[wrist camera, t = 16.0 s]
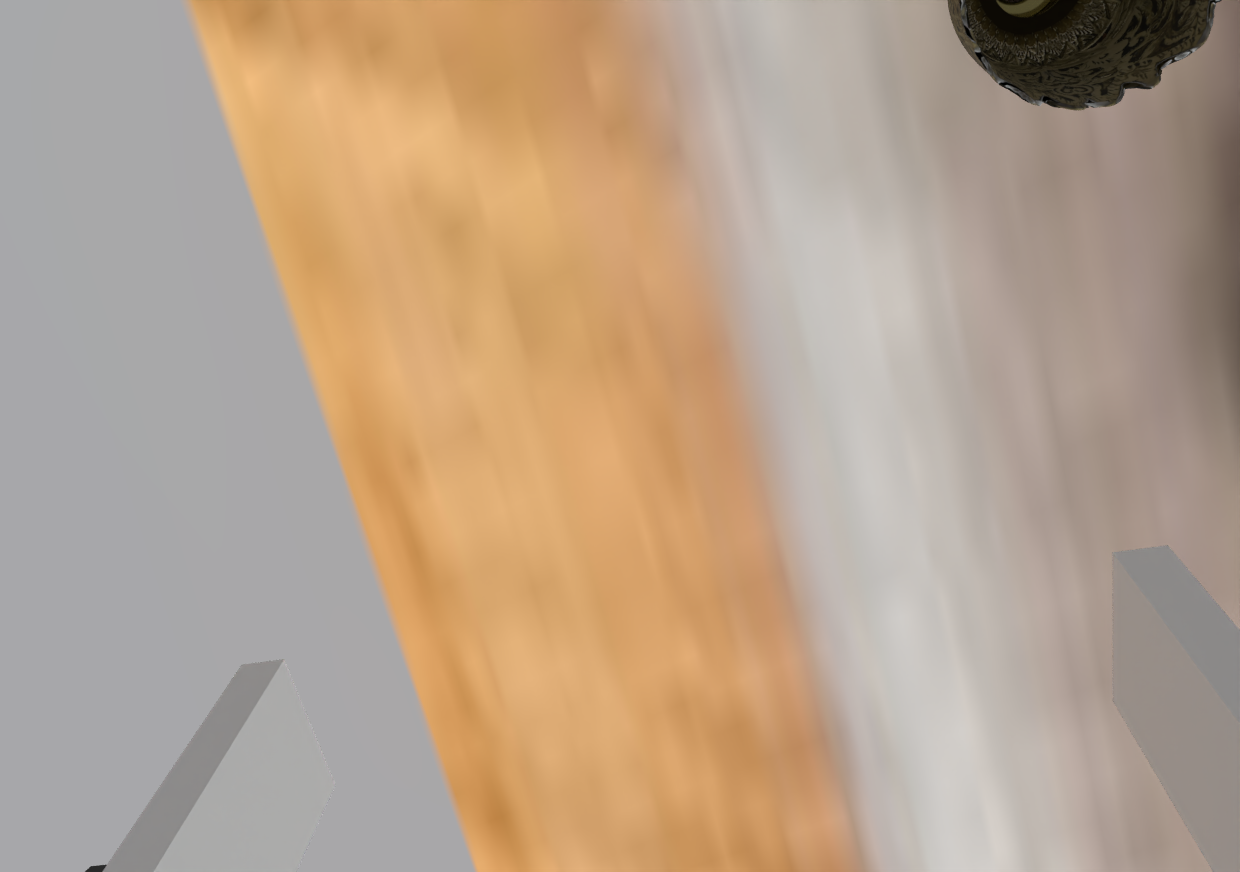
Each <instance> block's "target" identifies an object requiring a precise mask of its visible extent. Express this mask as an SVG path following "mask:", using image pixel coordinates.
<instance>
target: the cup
mask: <svg viewBox="0 0 1240 872" xmlns="http://www.w3.org/2000/svg"><path fill="white" fill-rule="evenodd" d="M1220 1H1221V0H1021V1H1018V2H1008V1H1005V0H948V7H949V12H950V16H951V20H952V23H953V26H954V29H955V31H956V33H957V35H958V37H959V39H960V41H961V43H962V45H963V46H964V48H965V49H966V50H967V52H968V53H969V54H970V56H971V57H972V58H973V59H974V60H975V61H976V62H977V64H979V65H980V66H981V67H982V68H983V69H984V70H985V71H986V72H987V73H988V74H990V76H991V77H992V78H993V79H994V80H995V82H997V83H998V84H999V85H1000V86H1002V87H1004V88H1006V89H1008V90H1010V91H1011V92H1013V93H1015V94H1016V95H1018V96H1019V97H1020V98H1021V99H1023V100H1025V101H1027V102H1028V103H1031V104H1033V105H1038V106H1040V105H1041V104H1042V103H1043V102H1044V103H1046V104H1048V105H1050V106H1052V107H1058V108H1065V109H1070V110H1083V109H1085V108H1089V107H1088V106H1091V107H1093V108H1095V107H1108V106H1112V105H1115V104H1117V103H1119V102H1120V101H1121V99H1122V97H1123V96H1124V93H1125V91H1124V90H1125V89H1131V88H1140V89H1152V88H1153V87H1155V86H1156V85H1157V84H1158V83H1159V82H1160V81H1161V76H1160V75H1161V74H1162V70H1161V69H1163V68H1164V67H1166V66H1167V65H1169V64H1171V63H1173V62H1176V61H1179V60H1181V59H1183V58H1185V57H1187V56H1188V55H1190V54H1191V53H1193V52H1194V51H1196V50H1197V49H1198V48H1200V47H1201V46H1202V45H1203V44H1204V43H1205V41H1206V40H1207V38H1208V36H1209V34H1210V31H1211V28H1212V24H1213V18H1214V9H1215V6H1216V3H1217V2H1220Z"/></svg>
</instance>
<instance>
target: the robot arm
mask: <svg viewBox="0 0 1240 872" xmlns="http://www.w3.org/2000/svg"><path fill="white" fill-rule="evenodd" d="M1113 702H1114V704H1115V706H1116V707H1117V709H1118V711H1119V712H1120V714H1121V716H1122V718H1123V719H1124V721H1125V723H1126V724H1127V726H1128V728H1129V729H1130V731H1131V733H1132V735H1133V736H1134V738H1135V740H1136V741H1137V743H1138V745H1139V746H1140V748H1141V750H1142V752H1143V753H1144V755H1145V757H1146V758H1147V760H1148V762H1149V763H1150V765H1151V767H1152V769H1153V770H1154V772H1155V774H1156V775H1157V777H1158V779H1159V780H1160V782H1161V784H1162V786H1163V787H1164V789H1165V791H1166V792H1167V794H1168V796H1169V798H1170V799H1171V801H1172V803H1173V804H1174V806H1175V808H1176V809H1177V811H1178V813H1179V815H1180V816H1181V818H1182V820H1183V821H1184V823H1185V825H1186V826H1187V828H1188V830H1189V832H1190V833H1191V835H1192V837H1193V838H1194V840H1195V842H1196V843H1197V845H1198V847H1199V849H1200V850H1201V852H1202V854H1203V855H1204V857H1205V859H1206V860H1207V862H1208V864H1209V866H1210V867H1211V869H1212V871H1213V872H1240V630H1239V629H1238V627H1237V626H1236V625H1235V624H1234V623H1233V621H1232V620H1231V619H1230V618H1229V617H1228V616H1227V614H1226V613H1225V612H1224V611H1223V610H1222V609H1221V607H1220V606H1219V605H1218V604H1217V603H1216V602H1215V600H1214V599H1213V598H1212V597H1211V596H1210V594H1209V593H1208V592H1207V591H1206V590H1205V589H1204V587H1203V586H1202V585H1201V584H1200V583H1199V582H1198V580H1197V579H1196V578H1195V577H1194V576H1193V575H1192V573H1191V572H1190V571H1189V570H1188V569H1187V567H1186V566H1185V565H1184V564H1183V563H1182V562H1181V560H1180V559H1179V558H1178V557H1177V556H1176V555H1175V553H1174V552H1173V551H1172V550H1171V549H1170V548H1169V546H1168V545H1167V546H1159V547H1152V548H1144V549H1136V550H1128V551H1120V552H1113ZM335 786H336V784H335V782H334V779H333V777H332V775H331V772H330V770H329V767H328V765H327V763H326V760H325V758H324V755H323V753H322V750H321V748H320V745H319V743H318V740H317V738H316V736H315V733H314V731H313V729H312V726H311V723H310V721H309V719H308V716H307V714H306V711H305V709H304V706H303V704H302V702H301V699H300V697H299V694H298V692H297V689H296V687H295V684H294V682H293V680H292V677H291V675H290V672H289V670H288V667H287V665H286V663H285V660H284V659H282V660H276V661H267V662H260V663H252V664H244V665H241V667H240V668H239V670H238V671H237V672H236V674H235V676H234V677H233V678H232V680H231V681H230V683H229V685H228V686H227V687H226V689H225V690H224V692H223V693H222V695H221V696H220V698H219V699H218V701H217V702H216V704H215V706H214V707H213V708H212V710H211V711H210V713H209V714H208V716H207V717H206V719H205V720H204V722H203V723H202V725H201V726H200V728H199V729H198V730H197V732H196V734H195V735H194V736H193V738H192V739H191V741H190V742H189V744H188V746H187V747H186V748H185V750H184V751H183V753H182V754H181V756H180V757H179V759H178V760H177V762H176V763H175V765H174V766H173V768H172V769H171V771H170V772H169V774H168V775H167V777H166V778H165V780H164V781H163V783H162V784H161V785H160V787H159V788H158V790H157V791H156V793H155V795H154V796H153V797H152V799H151V800H150V802H149V803H148V805H147V806H146V808H145V810H144V811H143V812H142V814H141V815H140V817H139V818H138V820H137V821H136V823H135V824H134V826H133V827H132V829H131V830H130V832H129V833H128V835H127V836H126V838H125V839H124V840H123V842H122V843H121V845H120V846H119V848H118V850H117V851H116V852H115V854H114V855H113V857H112V859H111V860H110V861H109V863H108V864H107V865H100V866H91V867H90V868H89V869H87V870H86V871H85V872H297V870H298V867H299V865H300V863H301V861H302V859H303V856H304V854H305V852H306V850H307V847H308V845H309V843H310V841H311V839H312V836H313V834H314V832H315V830H316V828H317V825H318V823H319V821H320V819H321V817H322V814H323V812H324V810H325V808H326V806H327V803H328V801H329V799H330V797H331V794H332V792H333V790H334V788H335Z"/></svg>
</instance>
